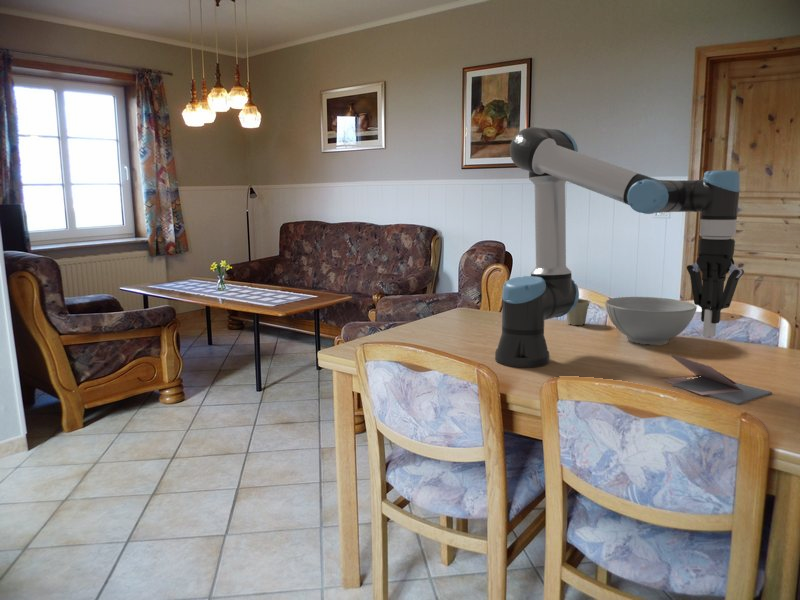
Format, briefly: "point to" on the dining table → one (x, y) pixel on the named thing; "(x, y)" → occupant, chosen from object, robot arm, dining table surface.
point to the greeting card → (705, 372)
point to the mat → (733, 397)
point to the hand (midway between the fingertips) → (709, 335)
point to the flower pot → (578, 313)
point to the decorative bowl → (650, 318)
